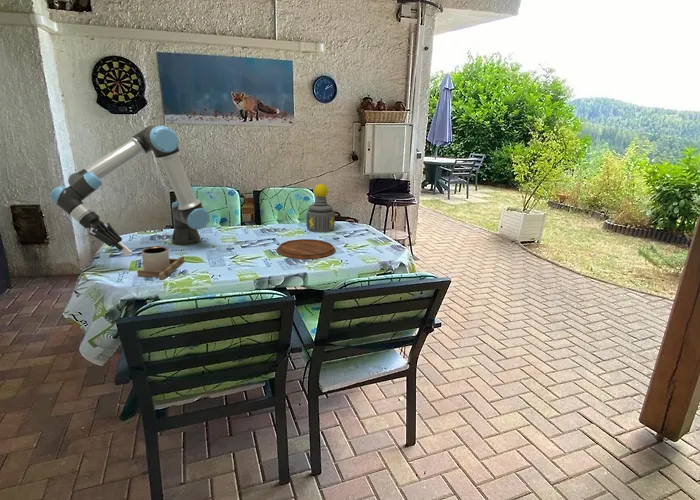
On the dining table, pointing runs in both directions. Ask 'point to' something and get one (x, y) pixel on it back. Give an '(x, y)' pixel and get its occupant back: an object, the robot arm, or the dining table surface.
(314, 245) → the cutting board
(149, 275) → the walnut frame
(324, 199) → the decorative lamp
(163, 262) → the planter
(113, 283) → the dining table surface
